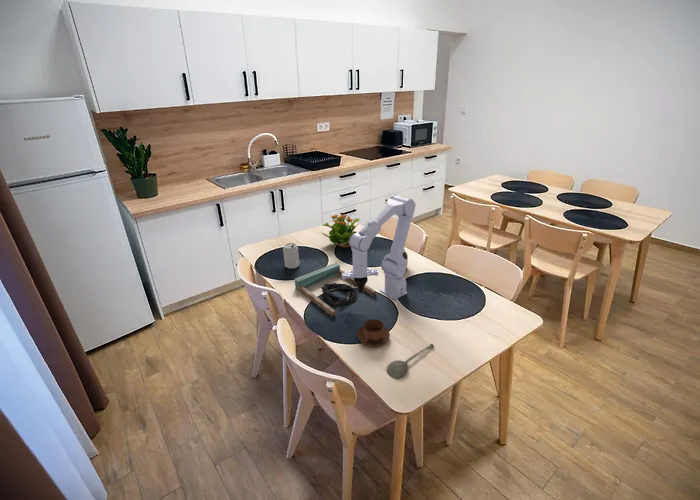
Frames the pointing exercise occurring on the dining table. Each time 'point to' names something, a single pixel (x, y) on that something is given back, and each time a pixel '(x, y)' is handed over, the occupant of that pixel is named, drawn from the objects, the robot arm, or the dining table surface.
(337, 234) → the potted flower
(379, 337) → the cup and saucer
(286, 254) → the can
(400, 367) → the soupspoon
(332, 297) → the cable
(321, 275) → the guide channel
